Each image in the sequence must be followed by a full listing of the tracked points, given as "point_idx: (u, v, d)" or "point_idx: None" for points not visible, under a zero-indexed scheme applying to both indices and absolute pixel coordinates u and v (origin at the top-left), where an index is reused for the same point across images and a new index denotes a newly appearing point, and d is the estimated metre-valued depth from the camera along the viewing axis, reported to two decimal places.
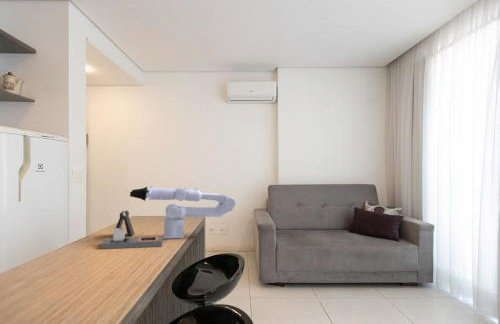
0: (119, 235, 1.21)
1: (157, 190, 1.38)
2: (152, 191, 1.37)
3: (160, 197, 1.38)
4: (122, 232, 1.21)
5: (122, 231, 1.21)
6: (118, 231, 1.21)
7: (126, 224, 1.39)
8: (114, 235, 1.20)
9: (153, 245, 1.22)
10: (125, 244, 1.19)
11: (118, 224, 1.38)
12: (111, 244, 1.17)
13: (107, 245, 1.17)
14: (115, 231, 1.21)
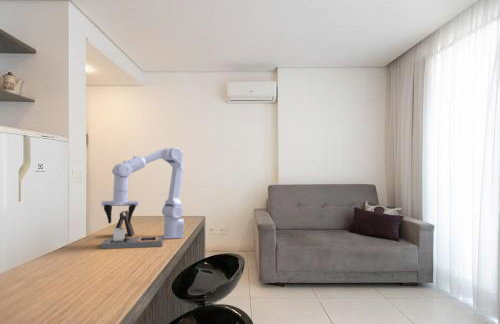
0: (119, 235, 1.21)
1: (125, 195, 1.22)
2: (126, 200, 1.23)
3: None
4: (122, 232, 1.21)
5: (122, 231, 1.21)
6: (118, 231, 1.21)
7: (126, 224, 1.39)
8: (114, 235, 1.20)
9: (153, 245, 1.22)
10: (125, 244, 1.19)
11: (118, 224, 1.38)
12: (111, 244, 1.17)
13: (107, 245, 1.17)
14: (115, 231, 1.21)
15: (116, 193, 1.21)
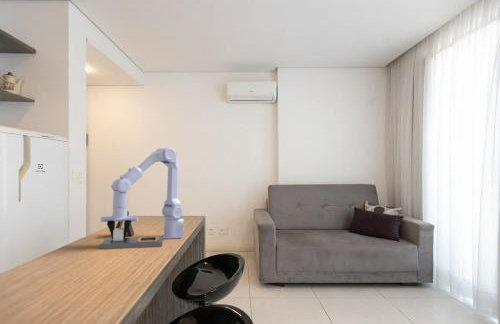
0: (119, 235, 1.21)
1: (124, 211, 1.22)
2: (125, 216, 1.22)
3: None
4: (122, 232, 1.21)
5: (122, 231, 1.21)
6: (118, 231, 1.21)
7: None
8: (114, 235, 1.20)
9: (153, 245, 1.22)
10: (125, 244, 1.19)
11: (118, 224, 1.38)
12: (111, 244, 1.17)
13: (107, 245, 1.17)
14: (115, 231, 1.21)
15: (115, 209, 1.20)
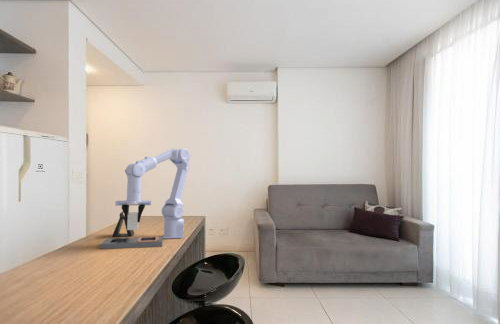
0: (133, 219, 1.23)
1: (138, 194, 1.24)
2: (139, 200, 1.24)
3: None
4: (136, 216, 1.23)
5: (136, 215, 1.23)
6: (132, 215, 1.23)
7: (126, 224, 1.39)
8: (128, 218, 1.22)
9: (153, 245, 1.22)
10: (125, 244, 1.19)
11: (118, 224, 1.38)
12: (111, 244, 1.17)
13: (107, 245, 1.17)
14: (130, 214, 1.22)
15: (130, 193, 1.22)
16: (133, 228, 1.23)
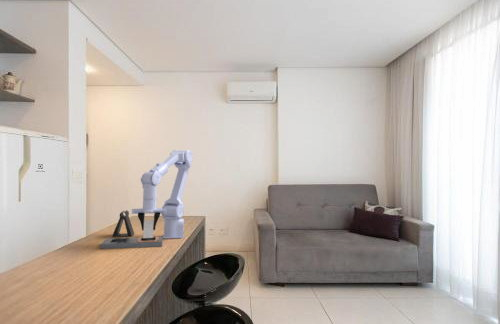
0: (149, 227, 1.24)
1: (154, 203, 1.25)
2: (155, 208, 1.26)
3: None
4: (152, 224, 1.25)
5: (152, 223, 1.25)
6: (148, 223, 1.24)
7: (126, 224, 1.39)
8: (144, 227, 1.24)
9: (153, 245, 1.22)
10: (125, 244, 1.19)
11: (118, 224, 1.38)
12: (111, 244, 1.17)
13: (107, 245, 1.17)
14: (146, 223, 1.24)
15: (146, 201, 1.24)
16: (149, 236, 1.24)
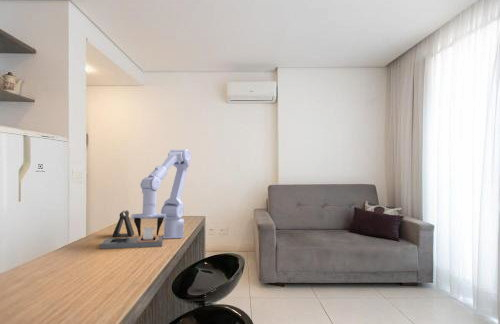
0: (149, 234, 1.24)
1: (154, 208, 1.25)
2: (155, 213, 1.26)
3: None
4: (152, 231, 1.24)
5: (152, 230, 1.24)
6: (148, 230, 1.24)
7: (126, 224, 1.39)
8: (144, 234, 1.24)
9: (153, 245, 1.22)
10: (125, 244, 1.19)
11: (118, 224, 1.38)
12: (111, 244, 1.17)
13: (107, 245, 1.17)
14: (145, 230, 1.24)
15: (146, 206, 1.24)
16: None
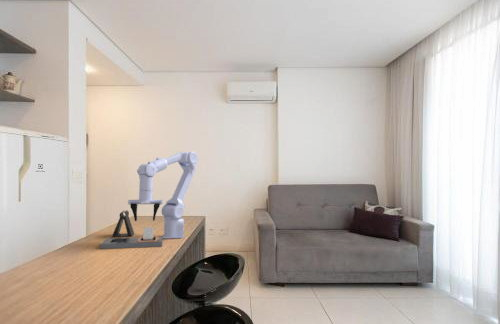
0: (149, 234, 1.24)
1: (150, 194, 1.28)
2: (151, 199, 1.28)
3: None
4: (152, 231, 1.24)
5: (152, 230, 1.24)
6: (148, 230, 1.24)
7: (126, 224, 1.39)
8: (144, 234, 1.24)
9: (153, 245, 1.22)
10: (125, 244, 1.19)
11: (118, 224, 1.38)
12: (111, 244, 1.17)
13: (107, 245, 1.17)
14: (145, 230, 1.24)
15: (142, 192, 1.26)
16: None
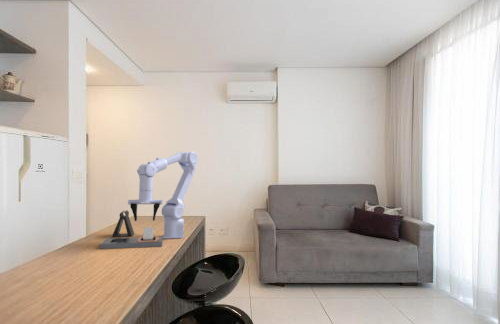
0: (149, 234, 1.24)
1: (150, 194, 1.28)
2: (151, 199, 1.28)
3: None
4: (152, 231, 1.24)
5: (152, 230, 1.24)
6: (148, 230, 1.24)
7: (126, 224, 1.39)
8: (144, 234, 1.24)
9: (153, 245, 1.22)
10: (125, 244, 1.19)
11: (118, 224, 1.38)
12: (111, 244, 1.17)
13: (107, 245, 1.17)
14: (145, 230, 1.24)
15: (142, 192, 1.26)
16: None
